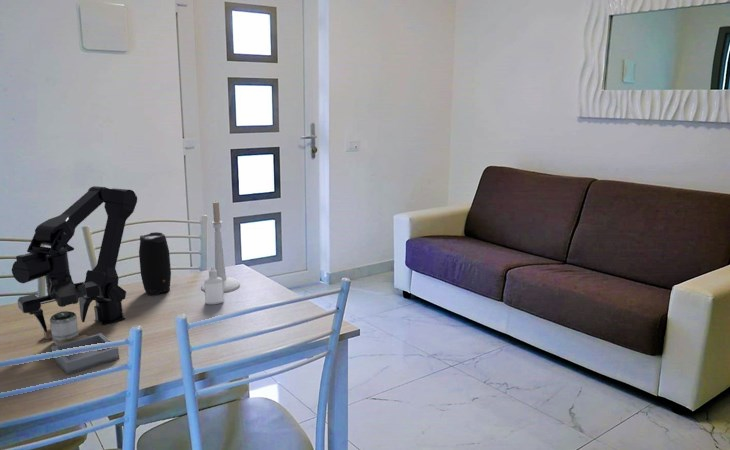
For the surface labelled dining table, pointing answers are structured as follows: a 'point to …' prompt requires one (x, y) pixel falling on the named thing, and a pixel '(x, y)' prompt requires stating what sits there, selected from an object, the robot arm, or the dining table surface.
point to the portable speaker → (155, 263)
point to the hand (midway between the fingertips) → (64, 326)
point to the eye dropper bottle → (213, 288)
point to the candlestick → (221, 254)
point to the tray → (85, 354)
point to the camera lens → (64, 326)
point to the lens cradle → (49, 335)
